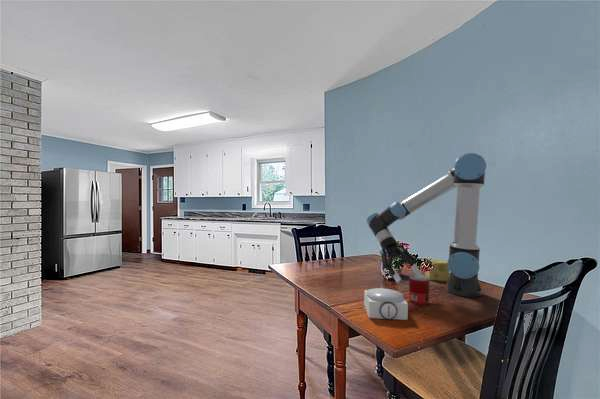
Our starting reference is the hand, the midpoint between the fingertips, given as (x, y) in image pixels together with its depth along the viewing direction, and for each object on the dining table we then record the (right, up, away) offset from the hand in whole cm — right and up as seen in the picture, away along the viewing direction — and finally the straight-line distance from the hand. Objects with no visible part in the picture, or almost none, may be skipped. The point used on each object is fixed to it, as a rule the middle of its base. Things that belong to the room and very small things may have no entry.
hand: (410, 279), depth 130 cm
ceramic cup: (+9, -9, +43) cm, 45 cm away
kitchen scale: (-16, -9, -15) cm, 23 cm away
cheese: (+28, -9, +36) cm, 46 cm away
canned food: (+2, -9, -3) cm, 10 cm away
